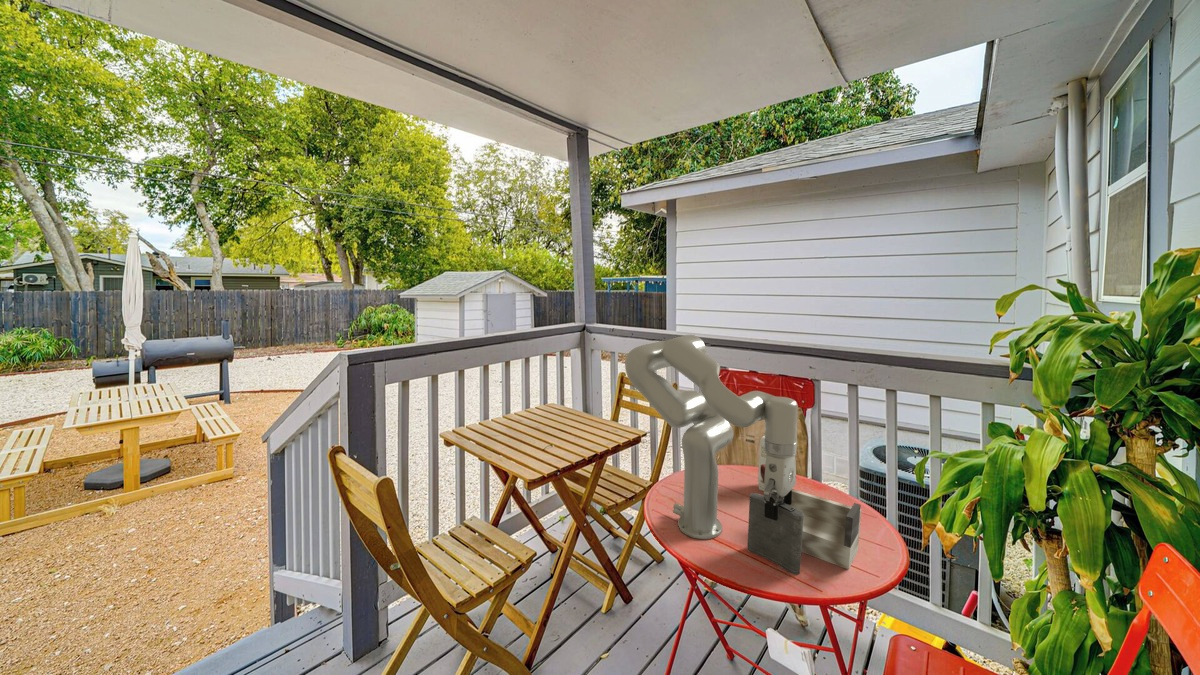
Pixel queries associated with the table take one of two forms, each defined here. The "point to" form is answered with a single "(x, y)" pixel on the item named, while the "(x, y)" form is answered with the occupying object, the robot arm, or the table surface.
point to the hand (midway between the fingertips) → (778, 510)
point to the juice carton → (762, 465)
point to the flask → (776, 533)
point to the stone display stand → (828, 528)
